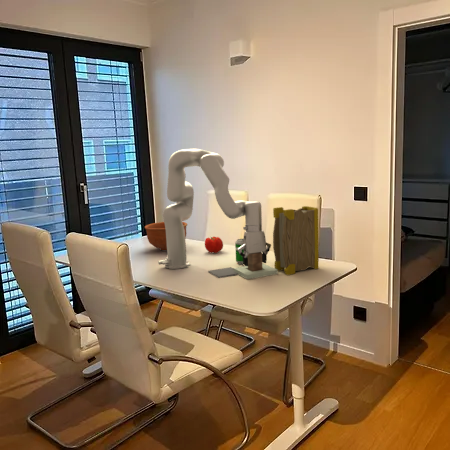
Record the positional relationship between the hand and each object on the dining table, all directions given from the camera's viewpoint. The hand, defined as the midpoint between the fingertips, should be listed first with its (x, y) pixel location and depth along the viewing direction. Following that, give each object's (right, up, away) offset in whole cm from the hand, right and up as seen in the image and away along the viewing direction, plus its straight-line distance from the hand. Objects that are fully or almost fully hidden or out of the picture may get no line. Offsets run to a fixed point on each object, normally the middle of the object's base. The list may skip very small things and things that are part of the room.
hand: (255, 264), depth 221 cm
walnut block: (0, -4, +1) cm, 4 cm away
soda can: (-5, -1, +20) cm, 21 cm away
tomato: (-20, +3, +46) cm, 50 cm away
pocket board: (0, -4, +1) cm, 4 cm away
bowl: (-48, +4, +58) cm, 76 cm away
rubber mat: (-14, -5, +3) cm, 15 cm away
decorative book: (+20, -3, +3) cm, 20 cm away
